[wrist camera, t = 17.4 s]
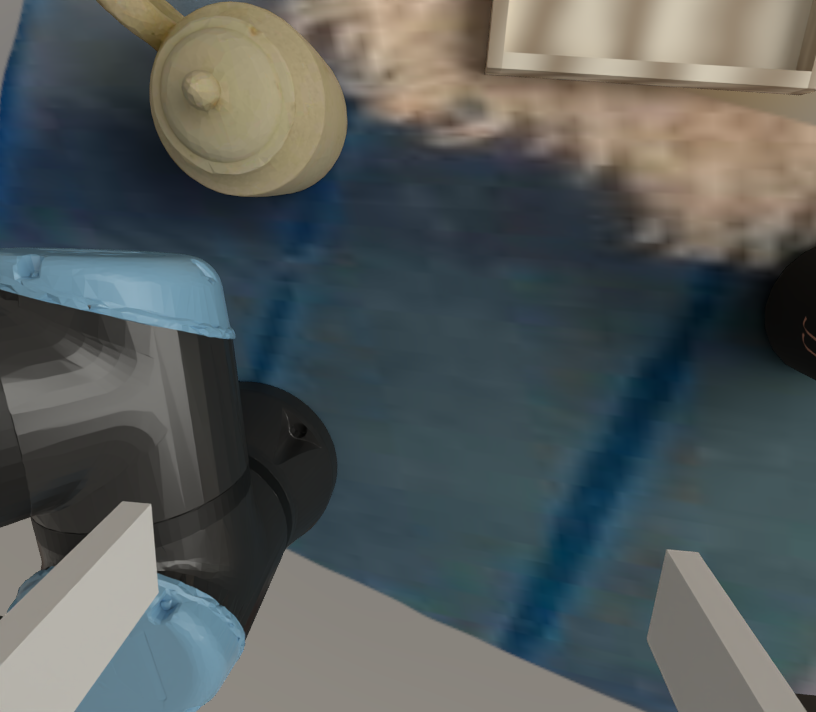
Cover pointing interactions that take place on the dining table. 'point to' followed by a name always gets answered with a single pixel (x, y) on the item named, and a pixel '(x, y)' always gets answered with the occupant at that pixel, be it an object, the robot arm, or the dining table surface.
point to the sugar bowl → (238, 96)
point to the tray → (658, 42)
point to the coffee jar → (794, 315)
